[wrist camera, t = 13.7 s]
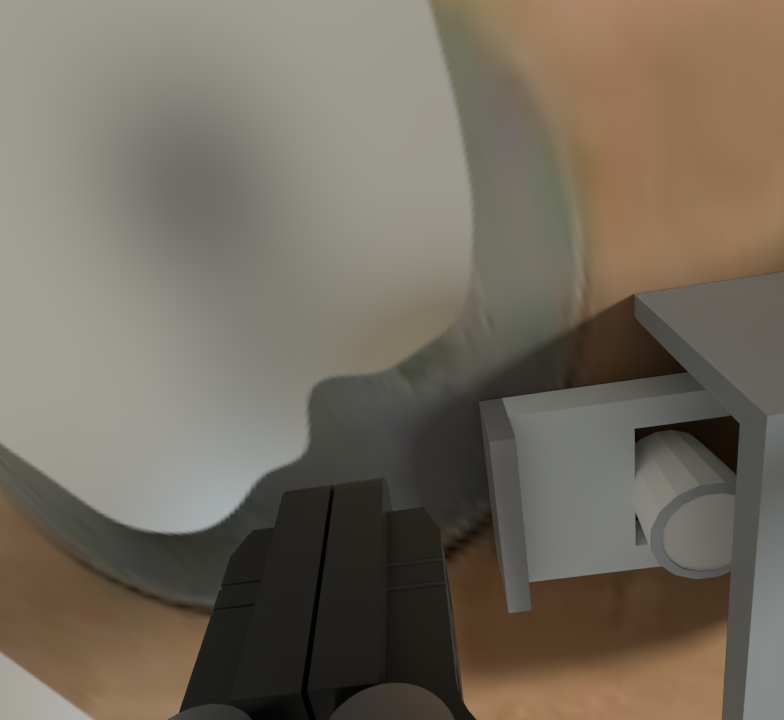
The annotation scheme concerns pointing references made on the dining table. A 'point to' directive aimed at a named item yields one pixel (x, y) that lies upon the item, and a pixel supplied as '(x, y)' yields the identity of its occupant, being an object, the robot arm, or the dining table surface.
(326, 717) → the robot arm
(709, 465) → the shot glass
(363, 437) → the dining table surface
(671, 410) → the grey flat bracket
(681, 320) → the grey shelf
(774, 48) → the dining table surface
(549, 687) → the dining table surface
